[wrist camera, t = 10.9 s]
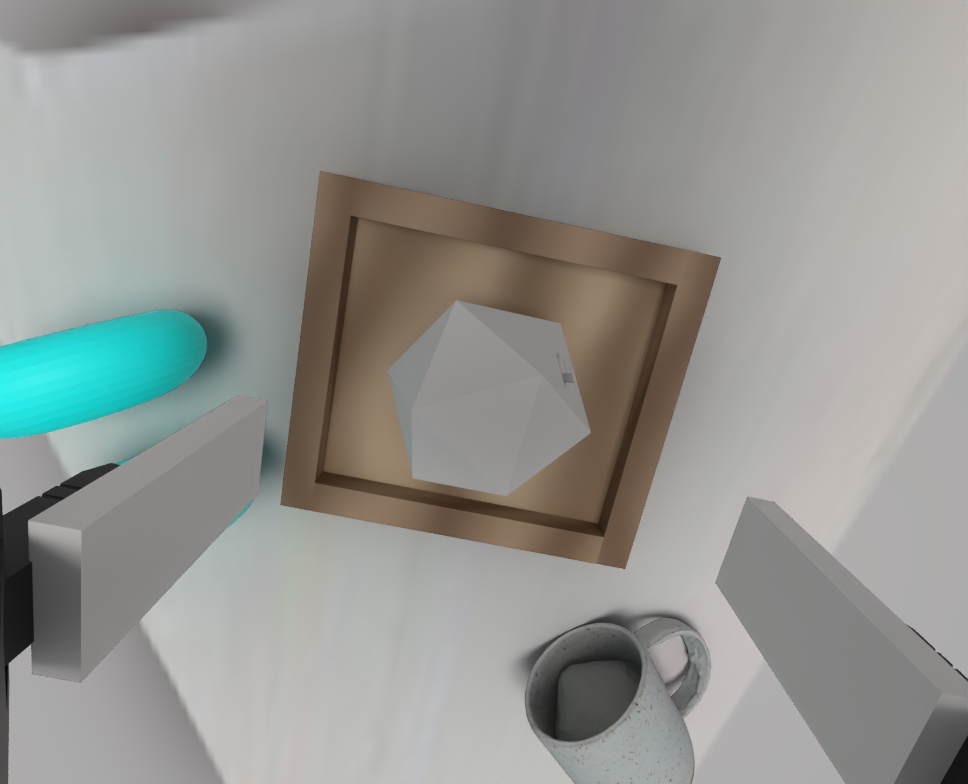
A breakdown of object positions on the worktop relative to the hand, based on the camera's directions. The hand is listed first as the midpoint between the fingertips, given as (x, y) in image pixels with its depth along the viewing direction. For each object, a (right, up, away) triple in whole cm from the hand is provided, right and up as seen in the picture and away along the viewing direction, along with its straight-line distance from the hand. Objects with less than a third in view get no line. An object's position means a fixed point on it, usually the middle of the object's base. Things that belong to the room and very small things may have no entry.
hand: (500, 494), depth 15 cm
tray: (0, +3, +14) cm, 14 cm away
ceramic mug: (+8, -14, +19) cm, 25 cm away
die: (0, +3, +14) cm, 14 cm away
